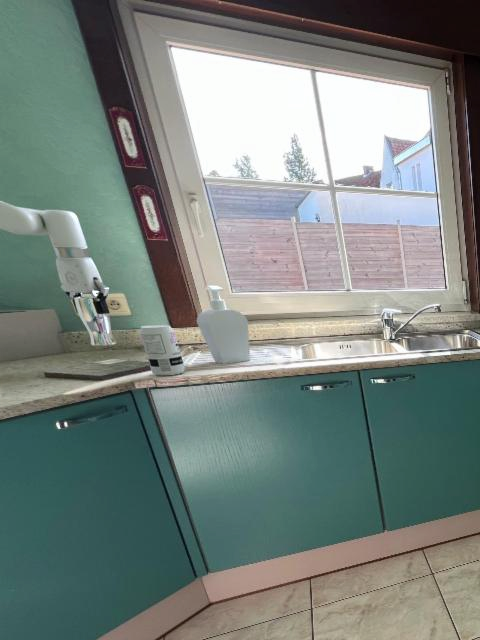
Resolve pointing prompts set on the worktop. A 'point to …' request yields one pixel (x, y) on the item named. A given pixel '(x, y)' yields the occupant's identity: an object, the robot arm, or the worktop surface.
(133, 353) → the worktop surface
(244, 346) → the soap bottle
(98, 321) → the beer glass
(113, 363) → the grid board
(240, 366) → the worktop surface
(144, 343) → the supplement can
